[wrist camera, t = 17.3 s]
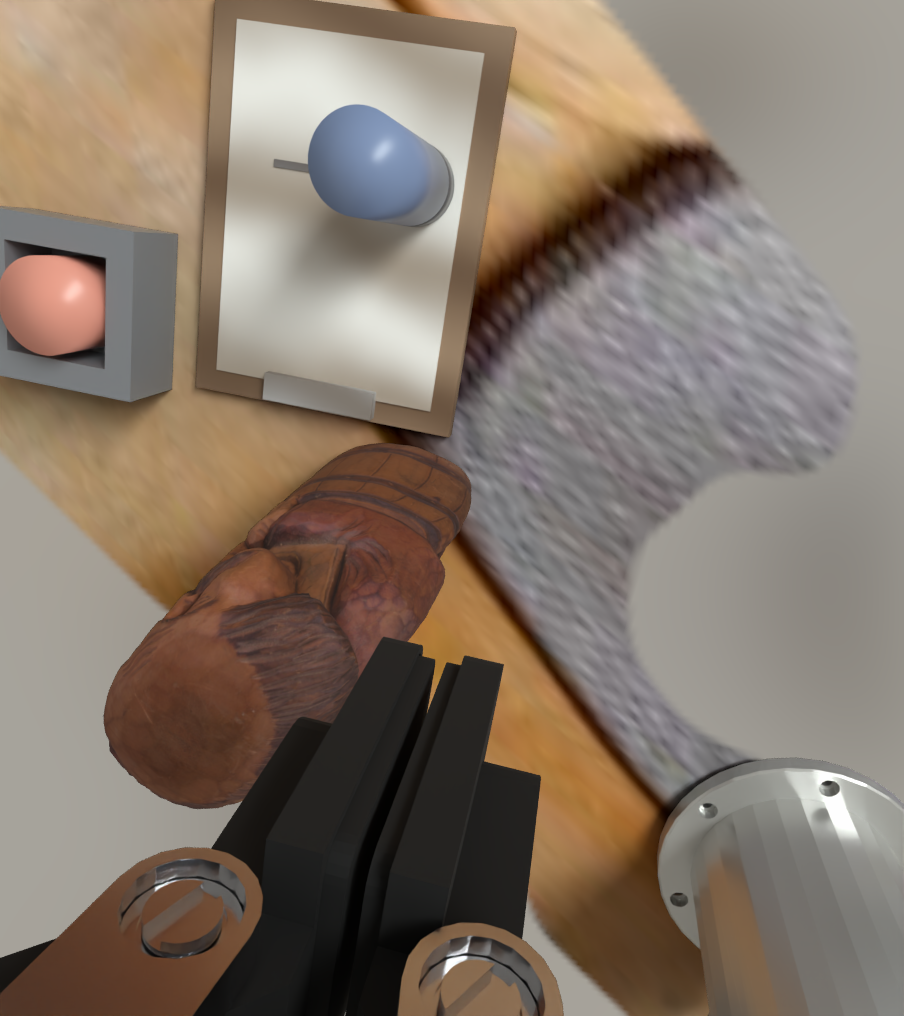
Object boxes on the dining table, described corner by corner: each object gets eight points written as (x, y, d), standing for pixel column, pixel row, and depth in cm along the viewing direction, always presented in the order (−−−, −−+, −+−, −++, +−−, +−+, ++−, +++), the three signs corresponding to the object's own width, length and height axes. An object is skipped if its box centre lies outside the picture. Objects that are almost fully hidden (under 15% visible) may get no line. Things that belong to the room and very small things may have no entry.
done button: (133, 353, 36) (86, 363, 33) (53, 338, 36) (-1, 346, 33) (135, 263, 35) (86, 264, 31) (52, 248, 35) (-4, 247, 32)
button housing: (171, 389, 37) (129, 402, 34) (36, 362, 38) (-17, 372, 35) (178, 234, 35) (133, 231, 31) (34, 208, 36) (-24, 203, 32)
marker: (447, 233, 32) (400, 225, 24) (372, 220, 32) (303, 208, 25) (460, 147, 31) (415, 112, 23) (382, 136, 31) (313, 97, 24)
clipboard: (451, 434, 35) (446, 440, 34) (201, 384, 37) (189, 388, 36) (516, 31, 30) (513, 23, 29) (222, -9, 31) (208, -18, 30)
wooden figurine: (401, 391, 35) (216, 517, 18) (499, 494, 36) (407, 706, 19) (240, 553, 39) (-34, 778, 22) (331, 643, 40) (131, 928, 23)
